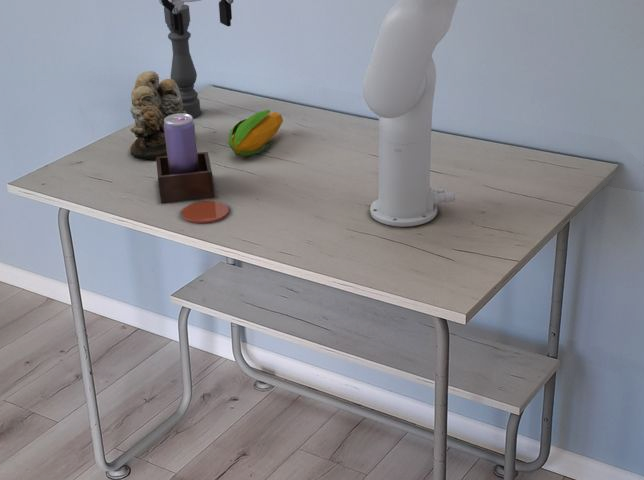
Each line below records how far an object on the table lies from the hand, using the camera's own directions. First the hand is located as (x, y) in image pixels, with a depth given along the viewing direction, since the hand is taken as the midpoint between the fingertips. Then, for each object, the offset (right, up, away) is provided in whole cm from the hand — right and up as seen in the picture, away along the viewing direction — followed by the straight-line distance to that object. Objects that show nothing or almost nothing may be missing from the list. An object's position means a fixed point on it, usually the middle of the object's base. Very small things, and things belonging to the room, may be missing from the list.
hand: (202, 29), depth 190 cm
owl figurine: (-13, -15, +37) cm, 42 cm away
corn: (+9, -15, +35) cm, 40 cm away
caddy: (-5, -27, +18) cm, 33 cm away
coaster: (0, -33, +8) cm, 34 cm away
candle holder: (-9, -4, +54) cm, 55 cm away
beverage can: (-5, -27, +18) cm, 33 cm away
